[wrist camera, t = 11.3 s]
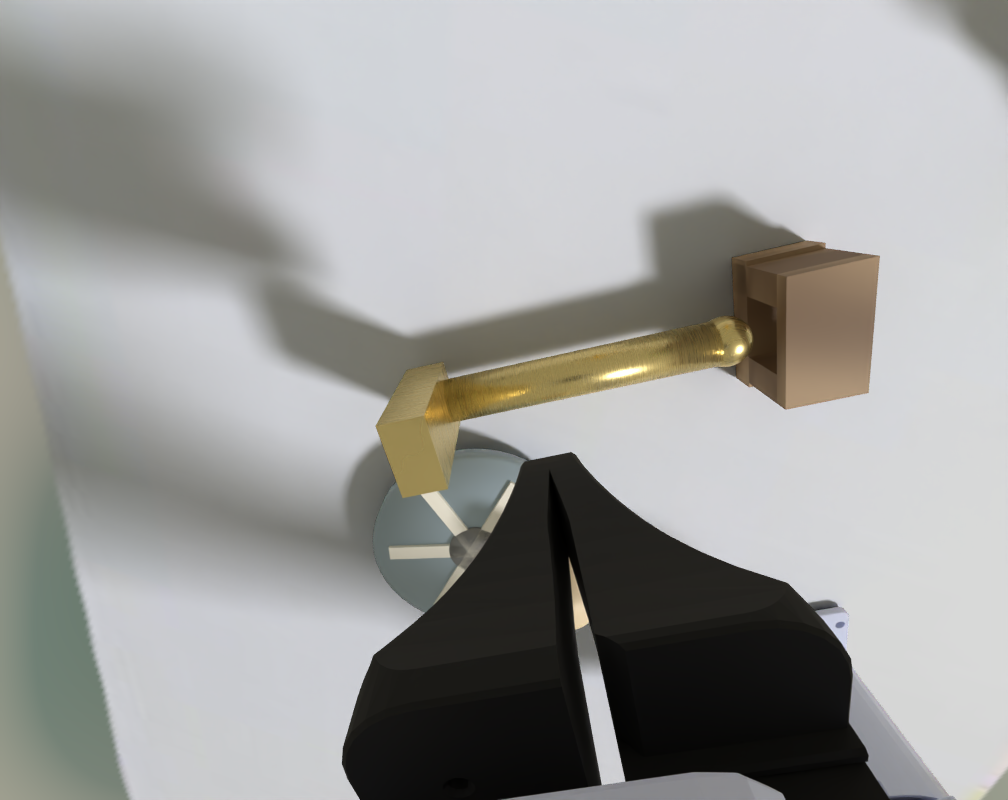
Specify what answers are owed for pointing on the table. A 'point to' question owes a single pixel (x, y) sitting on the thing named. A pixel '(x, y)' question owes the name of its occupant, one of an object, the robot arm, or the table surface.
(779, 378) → the eye block
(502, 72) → the table surface
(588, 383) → the hook rod
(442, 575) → the handwheel
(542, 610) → the robot arm
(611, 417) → the table surface
